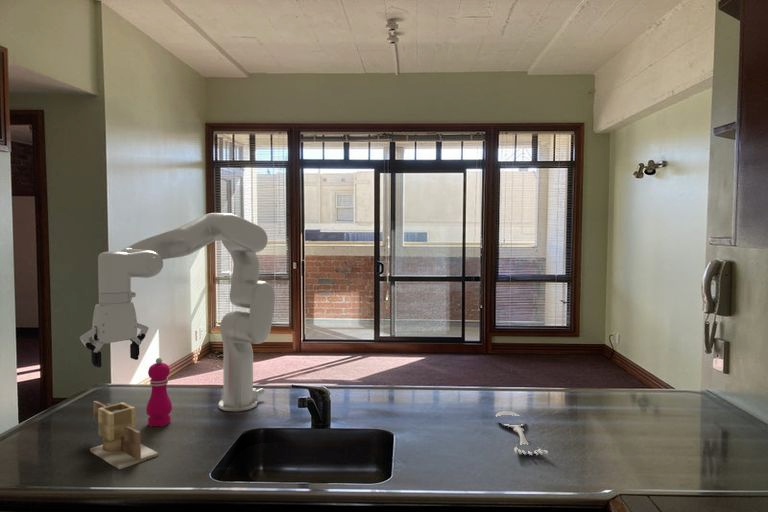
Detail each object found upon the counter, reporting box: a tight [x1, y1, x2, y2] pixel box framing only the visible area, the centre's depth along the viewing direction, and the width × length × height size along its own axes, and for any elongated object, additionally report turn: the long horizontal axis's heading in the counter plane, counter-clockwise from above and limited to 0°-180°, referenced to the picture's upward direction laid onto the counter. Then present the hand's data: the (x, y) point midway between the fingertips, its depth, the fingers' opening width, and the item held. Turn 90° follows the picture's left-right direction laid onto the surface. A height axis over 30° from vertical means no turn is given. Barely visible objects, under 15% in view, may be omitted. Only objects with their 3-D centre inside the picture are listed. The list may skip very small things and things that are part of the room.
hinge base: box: [89, 410, 159, 470], centre depth 138 cm, size 16×10×10 cm, turn 52°
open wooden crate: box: [92, 400, 136, 441], centre depth 143 cm, size 16×7×7 cm, turn 52°
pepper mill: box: [145, 357, 173, 427], centre depth 159 cm, size 7×7×20 cm
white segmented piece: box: [495, 410, 549, 456], centre depth 153 cm, size 9×32×4 cm, turn 179°
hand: (116, 362), depth 139 cm, fingers open, 9 cm apart
